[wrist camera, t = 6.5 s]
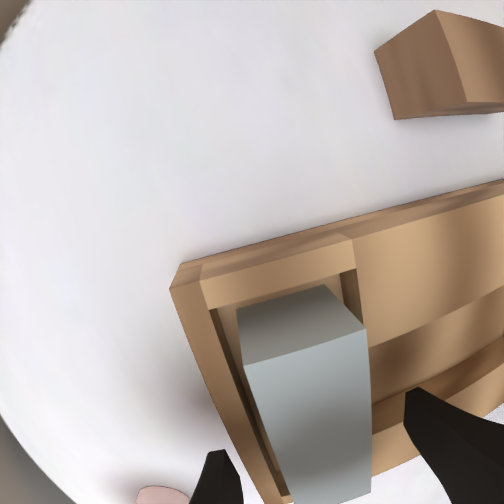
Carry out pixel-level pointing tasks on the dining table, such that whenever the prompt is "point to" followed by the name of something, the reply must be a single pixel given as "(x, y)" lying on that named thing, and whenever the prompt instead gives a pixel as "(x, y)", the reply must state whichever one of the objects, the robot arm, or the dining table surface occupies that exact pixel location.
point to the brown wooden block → (444, 67)
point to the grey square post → (312, 392)
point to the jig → (365, 314)
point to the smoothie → (161, 496)
